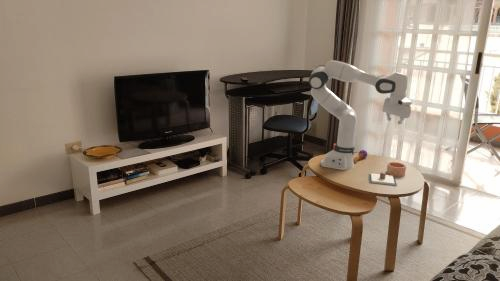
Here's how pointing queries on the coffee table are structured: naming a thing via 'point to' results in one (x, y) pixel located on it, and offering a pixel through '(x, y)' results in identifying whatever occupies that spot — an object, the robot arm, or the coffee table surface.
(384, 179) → the lid
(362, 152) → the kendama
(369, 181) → the mat
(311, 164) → the coffee table surface
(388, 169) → the bowl
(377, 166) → the coffee table surface
